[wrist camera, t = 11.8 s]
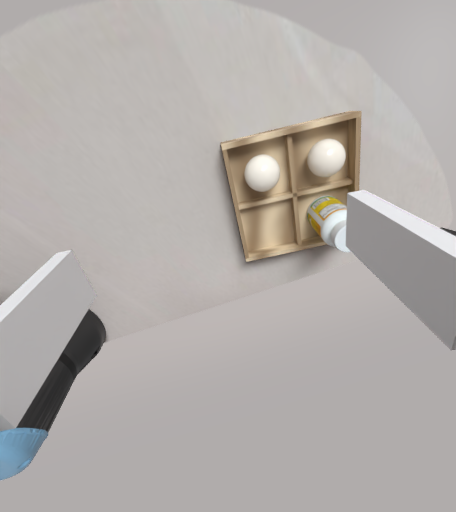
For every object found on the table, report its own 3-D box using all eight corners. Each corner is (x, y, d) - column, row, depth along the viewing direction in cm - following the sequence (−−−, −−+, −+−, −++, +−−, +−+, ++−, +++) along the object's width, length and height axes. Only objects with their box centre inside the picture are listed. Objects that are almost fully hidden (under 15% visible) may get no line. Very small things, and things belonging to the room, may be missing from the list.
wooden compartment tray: (244, 253, 45) (246, 261, 42) (220, 142, 36) (221, 145, 33) (348, 230, 44) (357, 237, 41) (350, 110, 35) (361, 111, 32)
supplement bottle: (314, 190, 39) (341, 213, 31) (345, 199, 40) (381, 223, 32) (300, 223, 42) (322, 252, 33) (330, 230, 43) (359, 260, 34)
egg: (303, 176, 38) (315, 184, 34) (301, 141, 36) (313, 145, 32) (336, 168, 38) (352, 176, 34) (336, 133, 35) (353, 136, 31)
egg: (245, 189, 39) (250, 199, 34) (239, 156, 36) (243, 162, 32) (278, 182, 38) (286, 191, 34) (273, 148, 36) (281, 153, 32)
